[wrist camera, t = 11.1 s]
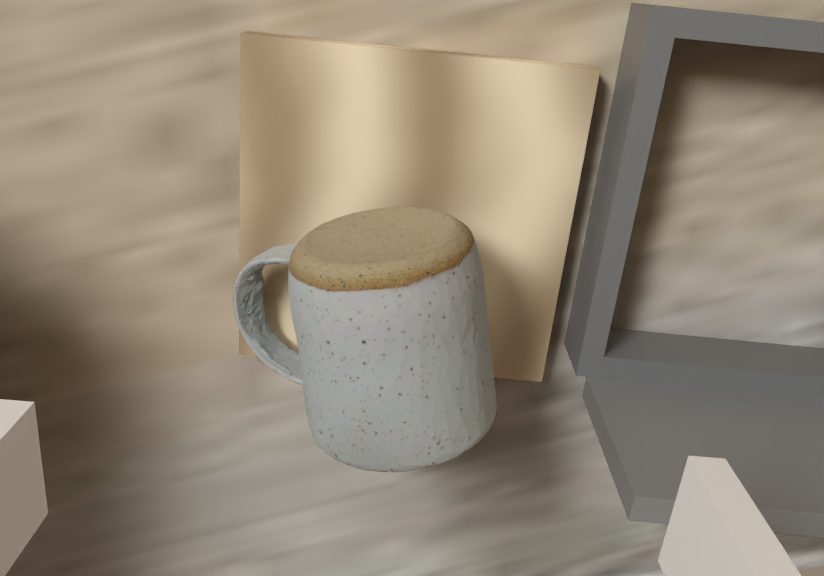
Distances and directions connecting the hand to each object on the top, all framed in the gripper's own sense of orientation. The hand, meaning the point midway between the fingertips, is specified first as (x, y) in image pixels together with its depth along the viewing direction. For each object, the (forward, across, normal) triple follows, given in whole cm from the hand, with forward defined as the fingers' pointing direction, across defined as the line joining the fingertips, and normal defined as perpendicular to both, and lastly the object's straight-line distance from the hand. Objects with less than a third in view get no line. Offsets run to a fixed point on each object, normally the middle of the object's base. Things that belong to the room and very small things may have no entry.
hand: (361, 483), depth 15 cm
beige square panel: (+19, +1, 0) cm, 19 cm away
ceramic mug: (+18, 0, 0) cm, 18 cm away
